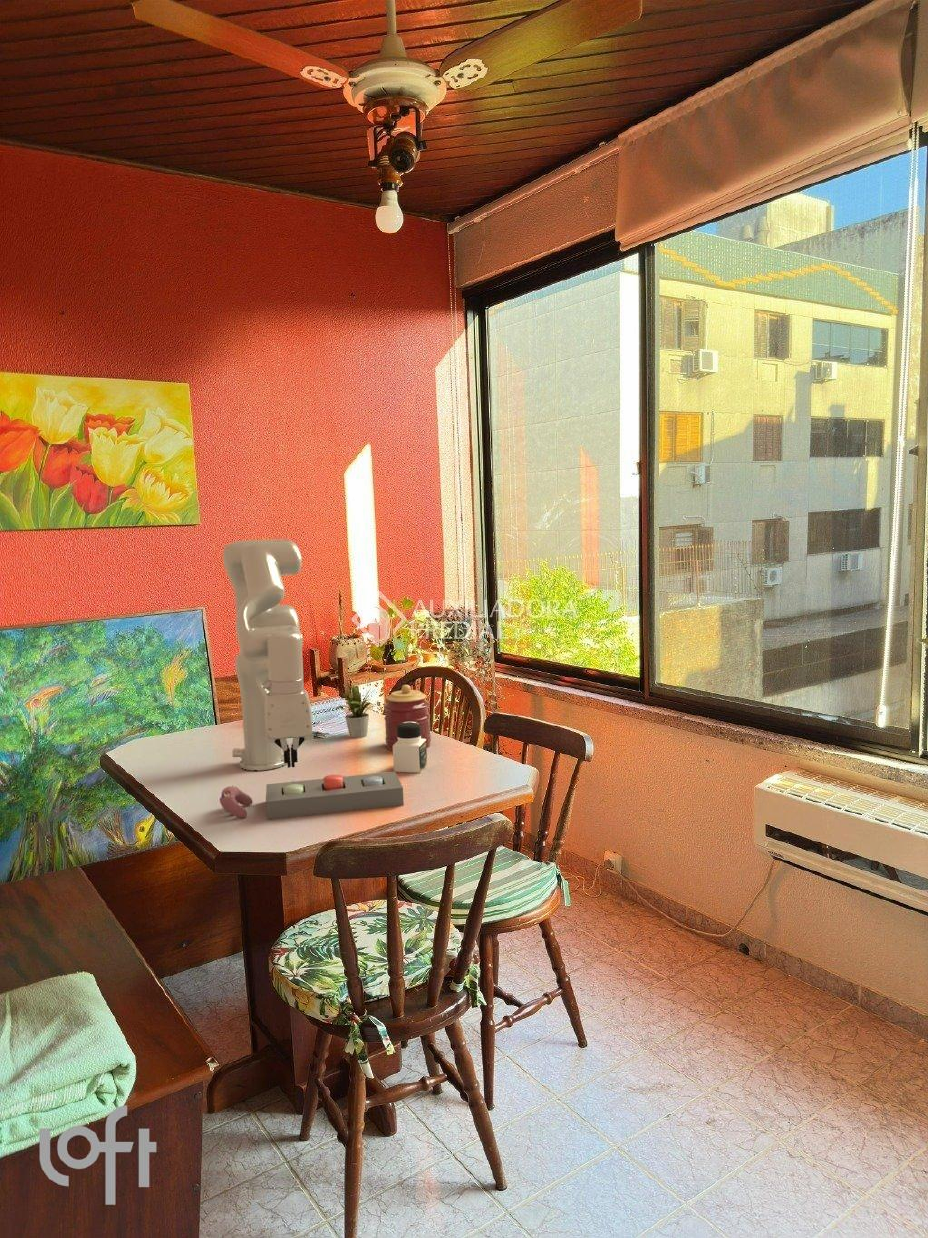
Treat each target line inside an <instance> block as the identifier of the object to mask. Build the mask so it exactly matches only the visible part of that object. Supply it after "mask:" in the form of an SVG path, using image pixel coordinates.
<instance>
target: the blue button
mask: <svg viewBox="0 0 928 1238" xmlns="http://www.w3.org/2000/svg"><path fill="white" fill-rule="evenodd" d="M382 784H383V780H382V777H379V776H371V777H366V778H364V779H363V785H364V786H372V785H382Z"/></svg>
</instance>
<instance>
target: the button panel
mask: <svg viewBox="0 0 928 1238" xmlns="http://www.w3.org/2000/svg"><path fill="white" fill-rule="evenodd" d="M371 776H379V777H382V780H383V784H382V785H372V786H364V785H363V779H364V778H366V777H371ZM292 784H300V785H303V792H304V793H294V794H284V791H283V788H284V787H285V786H287V785H292ZM265 786H266V790H265V793H266V794H265V807H266V820H267V819H269V820H275V819H274V818H278V819H284V818H283V817H287V818H293V817H292V816H296V817H302V816H301V815H306V816H314V815H313V814H315V815H323V814H331V813H341V812H350V811H351V812H352V811H359V810H367V809H368V810H369V809H380V808H388V807H396V806H404V805H405V801H404V787H403V785H402V783H401V781H400V779H399V776H398V775H397V772H394V771H389V772H378V773H369V774H368V773H367V774H357V775H348V776H347V775H346V776H343V789H333V790H324V781H323V778H317V779H308V780H306V779H305V780H296V781H286V782H277V783H269V784H266V785H265Z"/></svg>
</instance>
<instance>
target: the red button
mask: <svg viewBox="0 0 928 1238" xmlns="http://www.w3.org/2000/svg"><path fill="white" fill-rule="evenodd" d="M343 777H344V776H343V775H342V774H330V775H329V774H328V775H326V776H324V777H323V778H322V779H323V781H324V790H333V789H343Z"/></svg>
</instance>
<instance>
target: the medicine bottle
mask: <svg viewBox="0 0 928 1238" xmlns="http://www.w3.org/2000/svg"><path fill="white" fill-rule="evenodd" d="M397 736H398V741H397V742H396V743H395V744H394V745H393V750H392V758H393V759H392V760H393V772H395V773H416V774H417V773H418V774H420V773H422V771H423V770H424V769H425V768H426V767H427V766H428V758H427V757H428V756H427V754H428V753H427V752H428V751H427V747H426V739H421V725H420V724H419V723H416V722H403V723H401V724H399V725H398V726H397Z"/></svg>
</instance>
